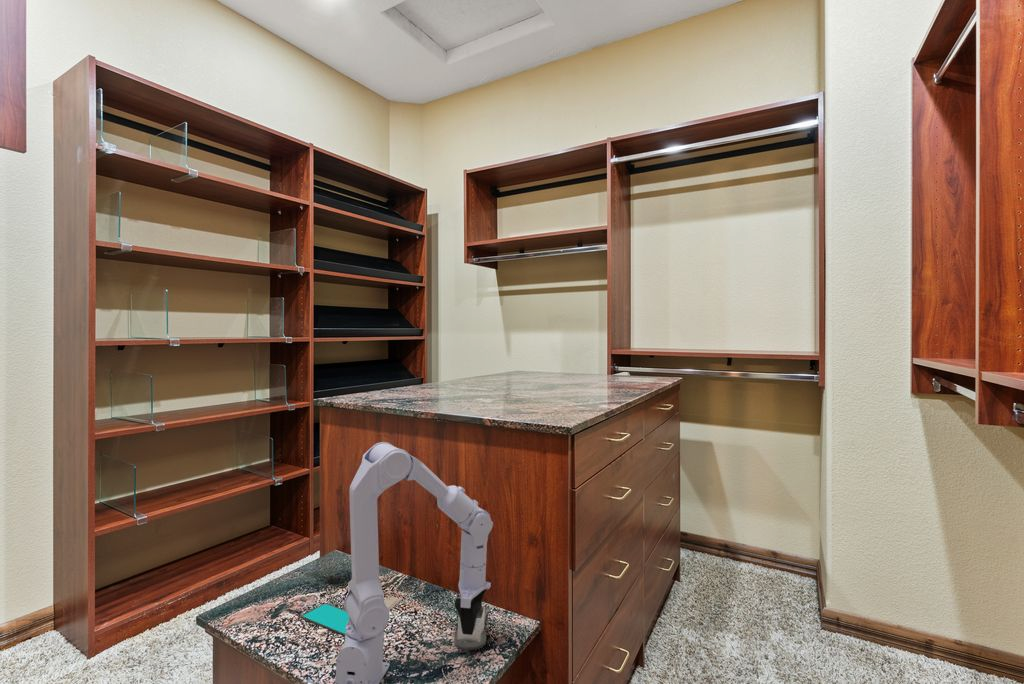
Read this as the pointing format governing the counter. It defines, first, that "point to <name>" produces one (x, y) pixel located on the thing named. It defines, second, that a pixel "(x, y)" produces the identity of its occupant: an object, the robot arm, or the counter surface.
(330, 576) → the counter surface
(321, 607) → the smartphone
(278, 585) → the counter surface
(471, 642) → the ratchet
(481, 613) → the brushed metal cube
